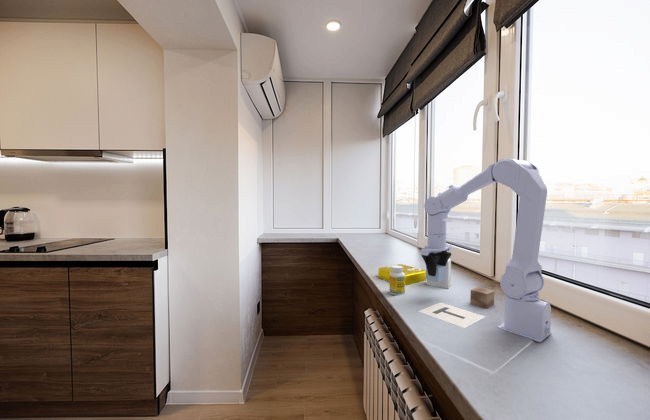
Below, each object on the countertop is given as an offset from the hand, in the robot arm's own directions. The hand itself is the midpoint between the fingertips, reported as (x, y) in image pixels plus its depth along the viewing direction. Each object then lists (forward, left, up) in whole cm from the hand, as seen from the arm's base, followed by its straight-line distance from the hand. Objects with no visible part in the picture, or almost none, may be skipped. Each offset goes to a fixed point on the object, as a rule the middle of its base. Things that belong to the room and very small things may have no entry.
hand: (436, 274), depth 98 cm
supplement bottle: (+12, +5, -9) cm, 16 cm away
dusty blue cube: (0, 0, -2) cm, 2 cm away
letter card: (-10, +8, -9) cm, 15 cm away
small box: (+8, -15, -9) cm, 19 cm away
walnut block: (-12, -7, -9) cm, 16 cm away
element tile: (+23, -12, -9) cm, 28 cm away
